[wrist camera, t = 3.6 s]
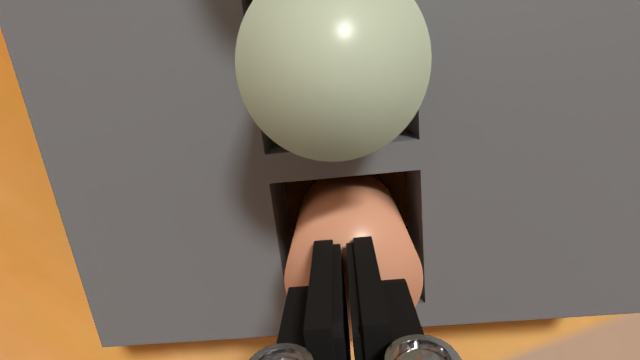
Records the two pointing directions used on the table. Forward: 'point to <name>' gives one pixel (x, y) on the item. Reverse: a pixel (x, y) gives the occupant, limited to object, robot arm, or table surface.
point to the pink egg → (353, 231)
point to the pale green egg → (333, 73)
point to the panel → (336, 163)
